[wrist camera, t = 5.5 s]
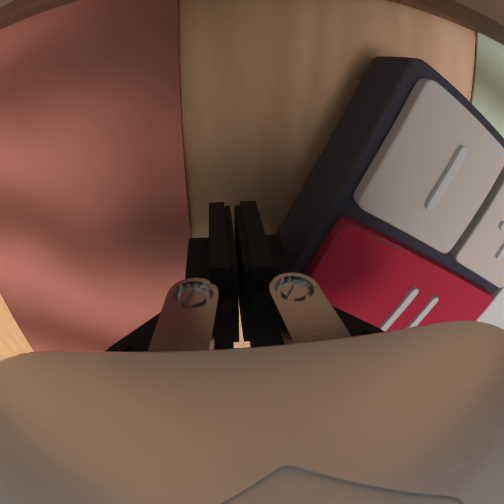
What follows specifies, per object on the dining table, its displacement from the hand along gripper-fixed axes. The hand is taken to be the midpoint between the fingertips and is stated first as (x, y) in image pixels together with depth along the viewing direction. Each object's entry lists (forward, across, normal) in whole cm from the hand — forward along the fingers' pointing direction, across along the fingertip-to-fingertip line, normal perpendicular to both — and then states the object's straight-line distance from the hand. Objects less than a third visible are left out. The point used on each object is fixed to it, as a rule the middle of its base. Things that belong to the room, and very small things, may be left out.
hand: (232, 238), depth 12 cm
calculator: (+2, -10, +1) cm, 10 cm away
